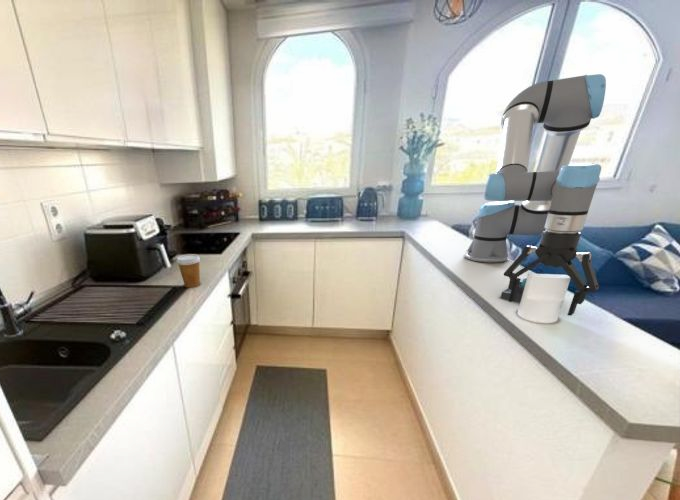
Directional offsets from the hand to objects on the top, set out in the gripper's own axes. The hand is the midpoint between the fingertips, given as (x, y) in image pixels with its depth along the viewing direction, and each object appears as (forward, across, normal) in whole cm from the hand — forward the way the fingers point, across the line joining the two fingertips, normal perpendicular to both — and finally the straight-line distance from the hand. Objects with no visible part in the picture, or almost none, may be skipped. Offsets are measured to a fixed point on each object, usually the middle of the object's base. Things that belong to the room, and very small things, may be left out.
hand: (539, 306), depth 96 cm
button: (-1, -7, +13) cm, 15 cm away
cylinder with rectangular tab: (+3, 0, 0) cm, 3 cm away
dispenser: (+3, -7, +13) cm, 15 cm away
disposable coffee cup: (+3, -103, -57) cm, 118 cm away
